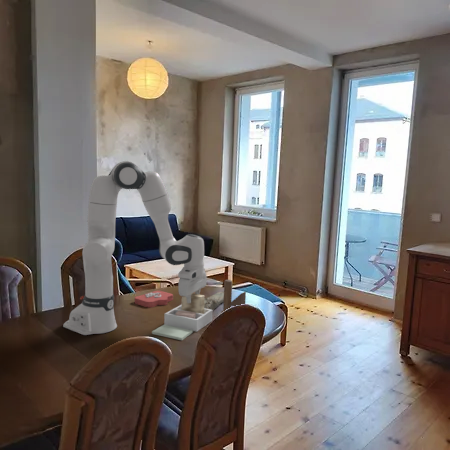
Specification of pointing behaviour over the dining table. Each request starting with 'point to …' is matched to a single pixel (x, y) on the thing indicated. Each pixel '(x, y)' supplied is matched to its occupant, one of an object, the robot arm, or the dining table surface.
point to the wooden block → (228, 296)
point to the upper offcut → (186, 314)
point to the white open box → (188, 319)
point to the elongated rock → (214, 301)
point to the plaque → (154, 299)
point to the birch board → (194, 303)
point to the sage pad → (172, 332)
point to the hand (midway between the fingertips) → (193, 300)
